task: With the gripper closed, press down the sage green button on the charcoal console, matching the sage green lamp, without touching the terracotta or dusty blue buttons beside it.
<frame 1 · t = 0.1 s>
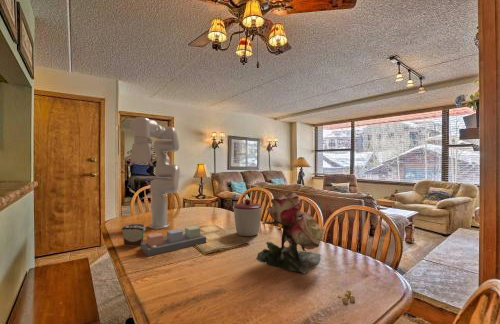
hand: (141, 173, 128), 37 cm above the table, tool pointing down, fingers open, 9 cm apart
console: (174, 245, 125), on the table
button sage: (192, 232, 131), point 5 cm above the table, slide at 0.0 cm
grey rimmed container: (135, 244, 127), on the table
button blue: (174, 236, 125), point 5 cm above the table, slide at 0.0 cm
canister: (247, 234, 145), on the table
button terracotta: (154, 240, 118), point 5 cm above the table, slide at 0.0 cm
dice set: (347, 301, 78), on the table
rose bouquet: (293, 258, 110), on the table
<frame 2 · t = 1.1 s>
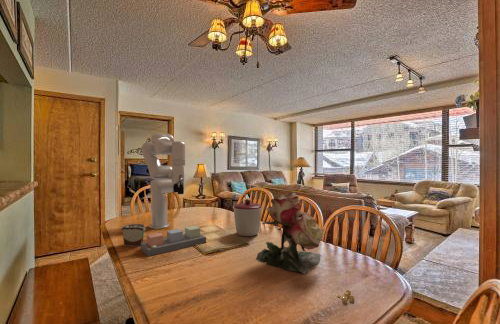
hand: (178, 193, 137), 25 cm above the table, tool pointing down, fingers open, 9 cm apart
nothing on the table moved.
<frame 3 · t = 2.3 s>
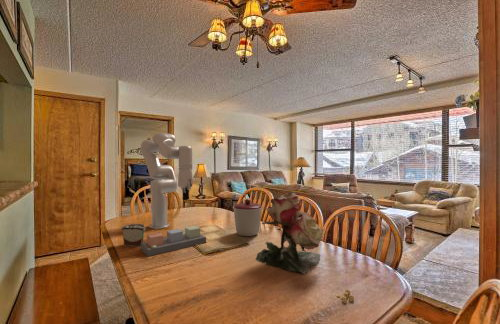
hand: (185, 199, 138), 22 cm above the table, tool pointing down, fingers closed
nothing on the table moved.
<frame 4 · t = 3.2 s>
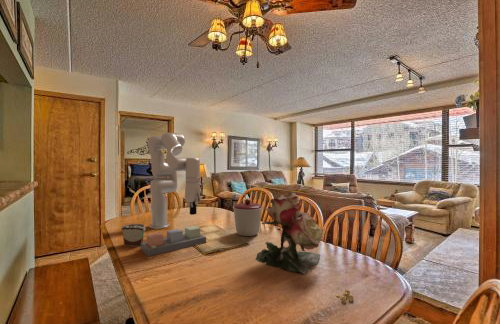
hand: (193, 214, 131), 15 cm above the table, tool pointing down, fingers closed
nothing on the table moved.
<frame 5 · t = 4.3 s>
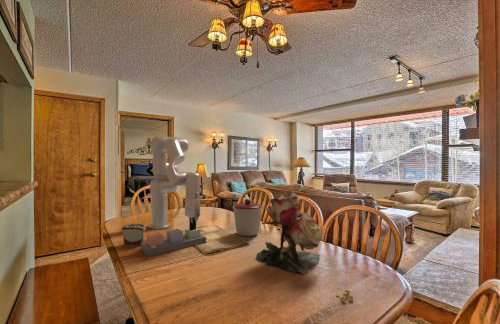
hand: (192, 229, 131), 7 cm above the table, tool pointing down, fingers closed
button sage: (192, 233, 131), point 4 cm above the table, slide at 0.8 cm, touching gripper
everything else where it was.
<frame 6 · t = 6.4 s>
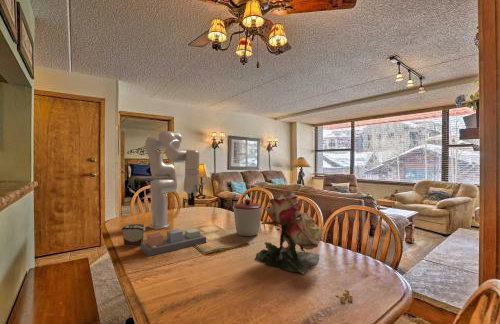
hand: (191, 204, 135), 19 cm above the table, tool pointing down, fingers closed
button sage: (192, 235, 131), point 4 cm above the table, slide at 1.5 cm
everything else where it was.
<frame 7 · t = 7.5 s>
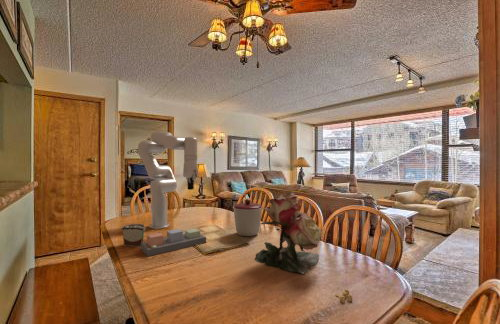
hand: (190, 189, 142), 27 cm above the table, tool pointing down, fingers closed
nothing on the table moved.
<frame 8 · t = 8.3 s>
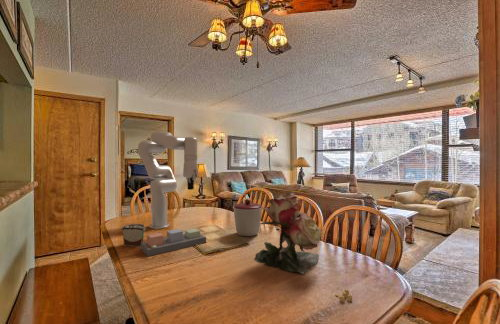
hand: (190, 189, 142), 27 cm above the table, tool pointing down, fingers closed
nothing on the table moved.
at the end: button sage slide at 1.5 cm; button terracotta slide at 0.0 cm; button blue slide at 0.0 cm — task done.
